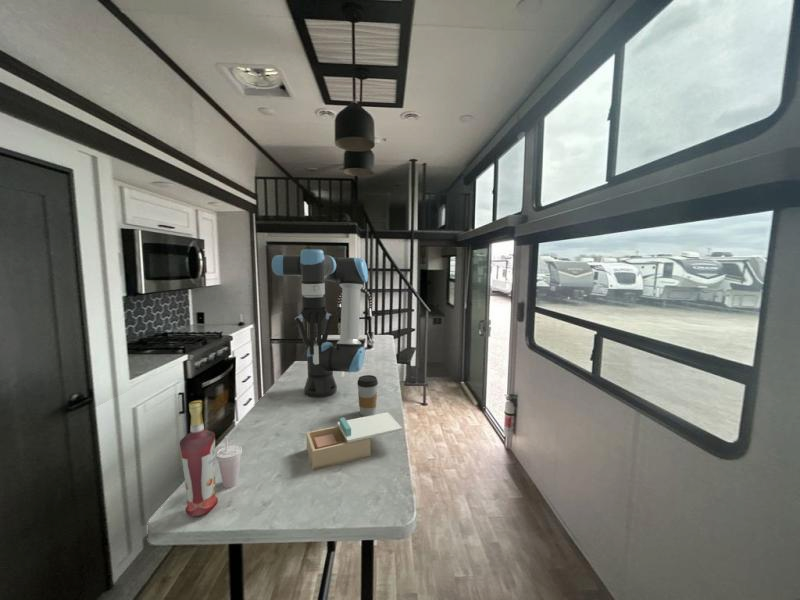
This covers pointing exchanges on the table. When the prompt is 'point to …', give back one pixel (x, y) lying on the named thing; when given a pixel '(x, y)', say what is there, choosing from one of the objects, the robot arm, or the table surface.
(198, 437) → the liquor
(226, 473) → the smoothie
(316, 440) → the box
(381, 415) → the lid
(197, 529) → the table surface
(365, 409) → the coffee cup
